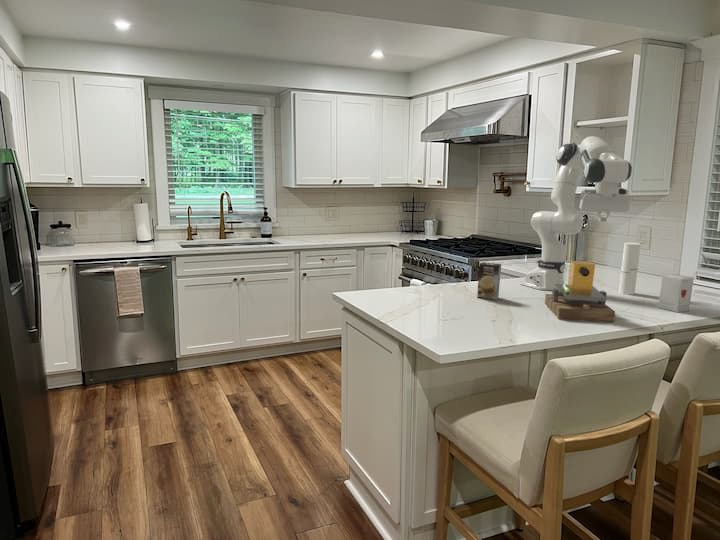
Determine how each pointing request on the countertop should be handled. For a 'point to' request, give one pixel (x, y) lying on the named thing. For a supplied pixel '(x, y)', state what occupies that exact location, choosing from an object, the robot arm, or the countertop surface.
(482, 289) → the coffee box
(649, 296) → the countertop surface
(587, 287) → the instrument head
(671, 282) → the supplement box
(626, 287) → the cylindrical container
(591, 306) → the tribrach stand
